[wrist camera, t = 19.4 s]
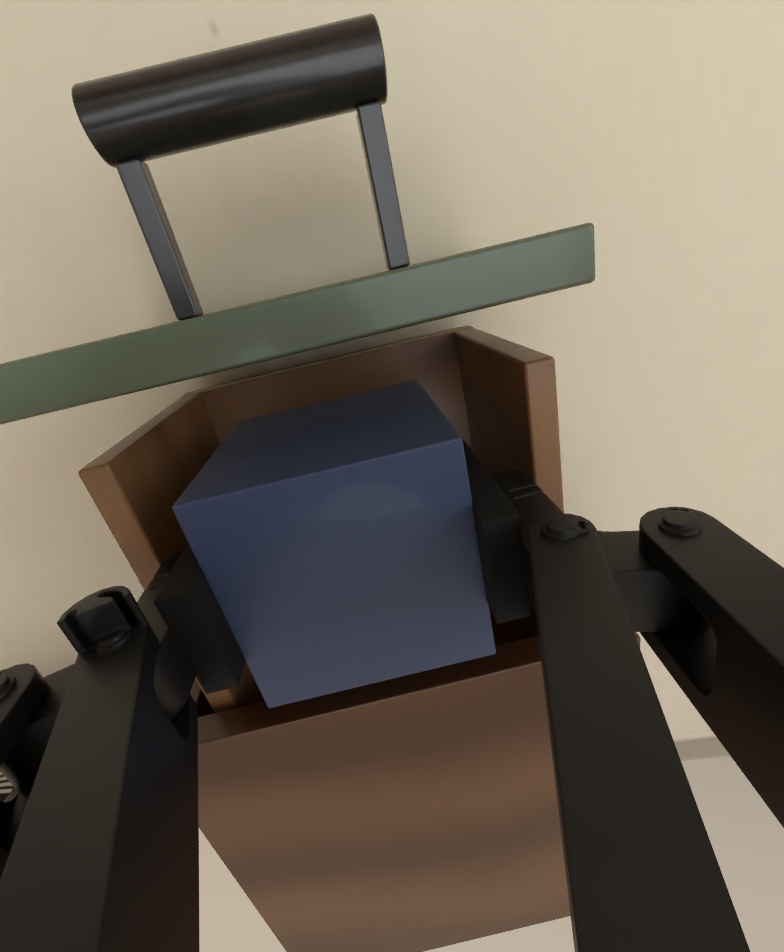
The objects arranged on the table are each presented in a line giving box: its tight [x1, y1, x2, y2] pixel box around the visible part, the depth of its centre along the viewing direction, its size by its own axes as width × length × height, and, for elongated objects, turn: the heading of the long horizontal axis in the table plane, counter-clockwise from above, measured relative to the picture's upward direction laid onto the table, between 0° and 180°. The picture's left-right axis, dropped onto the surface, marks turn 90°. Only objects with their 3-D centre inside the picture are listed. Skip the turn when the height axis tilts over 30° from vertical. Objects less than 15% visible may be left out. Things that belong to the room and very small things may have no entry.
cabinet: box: [190, 632, 640, 952], centre depth 21 cm, size 16×15×11 cm
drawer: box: [0, 14, 595, 713], centre depth 15 cm, size 20×14×9 cm
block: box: [172, 380, 496, 708], centre depth 13 cm, size 6×6×6 cm
